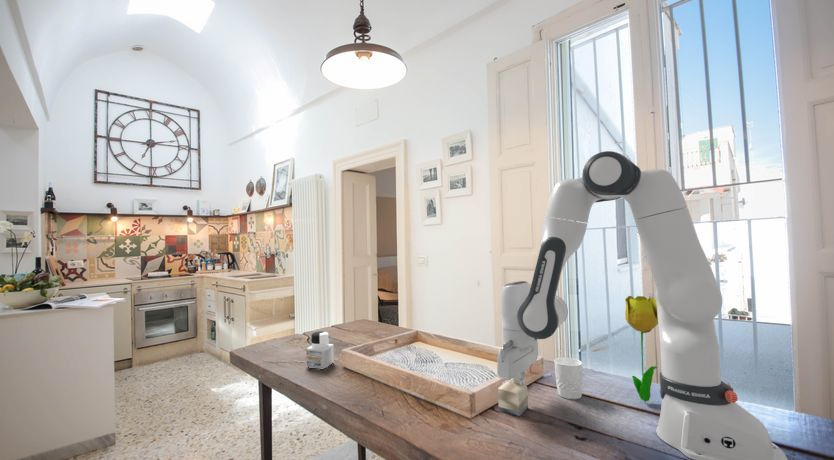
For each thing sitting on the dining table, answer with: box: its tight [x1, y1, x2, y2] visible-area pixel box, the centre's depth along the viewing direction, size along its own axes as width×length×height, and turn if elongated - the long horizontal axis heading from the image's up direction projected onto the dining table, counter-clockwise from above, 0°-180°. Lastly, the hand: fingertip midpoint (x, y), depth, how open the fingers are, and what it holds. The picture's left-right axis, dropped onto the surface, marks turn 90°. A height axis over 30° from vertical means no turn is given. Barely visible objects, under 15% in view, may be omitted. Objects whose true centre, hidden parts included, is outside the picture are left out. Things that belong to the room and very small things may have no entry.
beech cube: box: [497, 380, 529, 417], centre depth 102 cm, size 6×6×6 cm
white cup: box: [553, 356, 583, 400], centre depth 110 cm, size 8×8×10 cm
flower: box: [624, 295, 659, 403], centre depth 104 cm, size 9×8×30 cm
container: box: [305, 330, 335, 369], centre depth 142 cm, size 8×8×13 cm
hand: (519, 385), depth 105 cm, fingers closed
